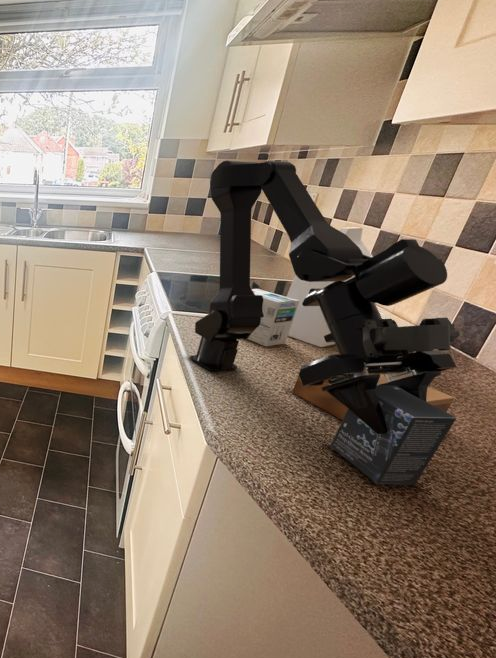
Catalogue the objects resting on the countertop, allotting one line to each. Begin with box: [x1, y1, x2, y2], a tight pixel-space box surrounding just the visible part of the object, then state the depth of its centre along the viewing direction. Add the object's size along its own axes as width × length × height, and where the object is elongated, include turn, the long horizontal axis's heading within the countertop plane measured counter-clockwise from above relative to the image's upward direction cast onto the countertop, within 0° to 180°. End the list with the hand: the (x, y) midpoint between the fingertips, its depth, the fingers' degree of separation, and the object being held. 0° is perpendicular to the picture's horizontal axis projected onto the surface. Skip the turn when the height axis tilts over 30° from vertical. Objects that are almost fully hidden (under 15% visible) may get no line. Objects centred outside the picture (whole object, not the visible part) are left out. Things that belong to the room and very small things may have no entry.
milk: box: [285, 226, 374, 348], centre depth 99 cm, size 12×12×26 cm
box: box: [330, 385, 457, 485], centre depth 55 cm, size 8×6×11 cm
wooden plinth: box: [291, 368, 455, 421], centre depth 70 cm, size 14×14×6 cm
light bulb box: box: [247, 288, 300, 347], centre depth 99 cm, size 11×7×11 cm, turn 22°
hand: (402, 431), depth 53 cm, fingers closed on box, 6 cm apart
